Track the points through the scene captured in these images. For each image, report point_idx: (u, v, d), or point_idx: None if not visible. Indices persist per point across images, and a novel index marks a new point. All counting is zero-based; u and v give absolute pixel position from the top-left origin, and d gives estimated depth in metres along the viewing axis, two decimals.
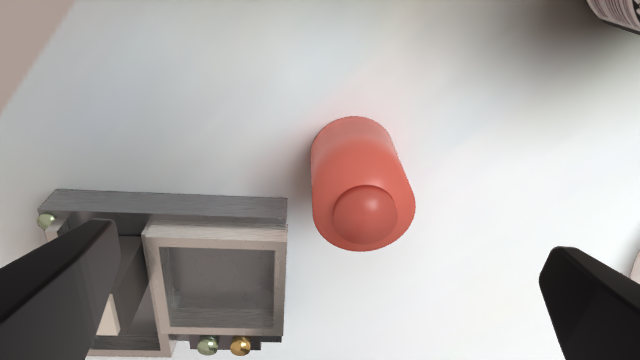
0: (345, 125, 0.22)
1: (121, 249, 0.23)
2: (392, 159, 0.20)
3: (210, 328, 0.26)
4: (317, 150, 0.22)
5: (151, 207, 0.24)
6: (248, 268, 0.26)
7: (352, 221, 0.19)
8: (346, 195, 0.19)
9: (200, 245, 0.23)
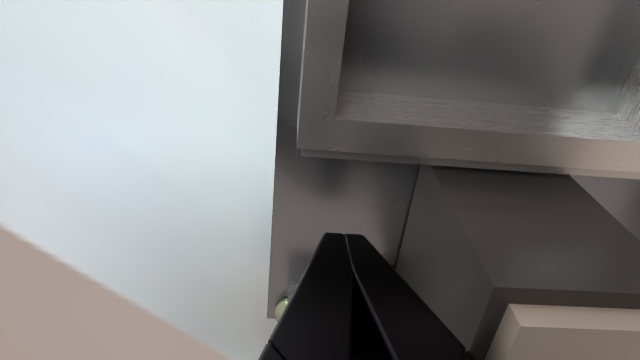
0: None
1: (428, 215, 0.09)
2: None
3: None
4: None
5: None
6: None
7: None
8: None
9: None
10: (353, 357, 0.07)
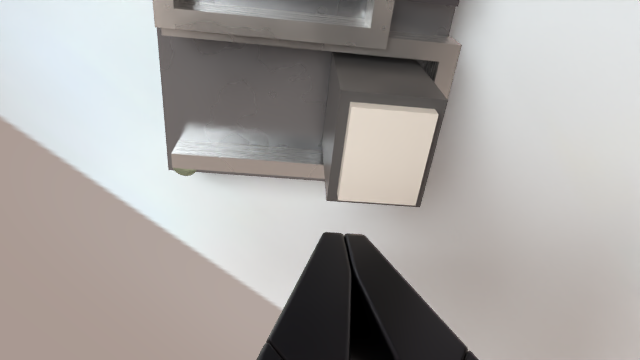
0: None
1: (331, 85, 0.15)
2: None
3: None
4: None
5: None
6: None
7: None
8: None
9: None
10: (354, 357, 0.07)
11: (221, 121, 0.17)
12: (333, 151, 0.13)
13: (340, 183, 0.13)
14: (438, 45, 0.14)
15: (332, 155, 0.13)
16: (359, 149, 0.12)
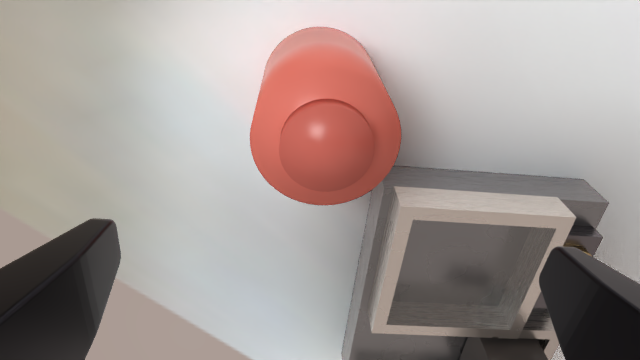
0: None
1: (476, 352, 0.22)
2: (267, 82, 0.14)
3: (527, 294, 0.20)
4: None
5: (357, 303, 0.23)
6: (456, 232, 0.20)
7: (329, 169, 0.13)
8: (289, 172, 0.13)
9: (391, 290, 0.19)
10: None
11: (388, 357, 0.24)
12: None
13: None
14: (550, 332, 0.22)
15: None
16: None
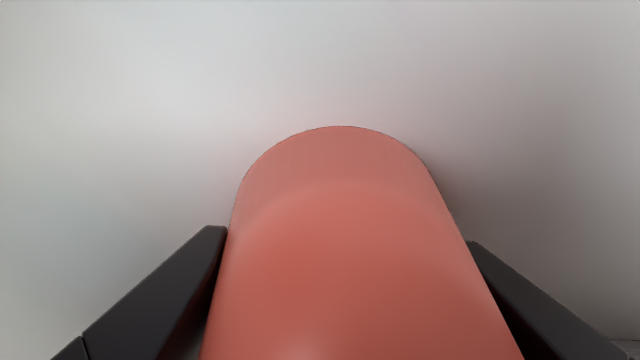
0: None
1: None
2: (221, 315, 0.06)
3: None
4: None
5: None
6: None
7: None
8: None
9: None
10: None
11: None
12: None
13: None
14: None
15: None
16: None
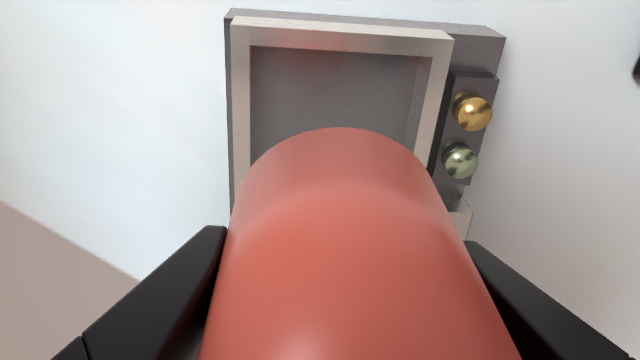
0: None
1: None
2: (220, 317, 0.06)
3: None
4: None
5: None
6: (325, 83, 0.16)
7: None
8: None
9: (245, 152, 0.16)
10: None
11: None
12: None
13: None
14: (455, 213, 0.18)
15: None
16: None
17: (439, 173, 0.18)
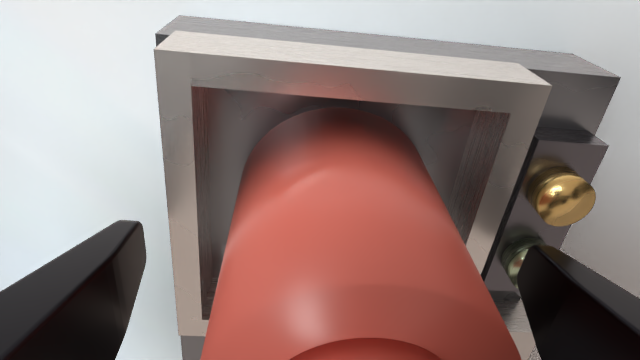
0: None
1: None
2: (235, 261, 0.07)
3: None
4: None
5: None
6: None
7: None
8: None
9: (191, 252, 0.10)
10: None
11: None
12: None
13: None
14: (514, 334, 0.12)
15: None
16: None
17: (495, 276, 0.12)
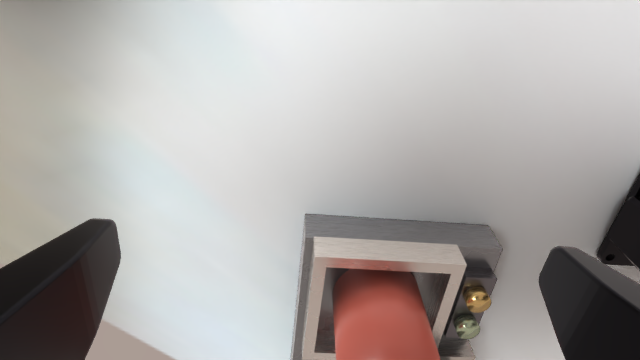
0: None
1: None
2: (349, 335, 0.19)
3: (434, 327, 0.23)
4: None
5: (294, 331, 0.26)
6: None
7: None
8: None
9: (314, 324, 0.22)
10: None
11: None
12: None
13: None
14: (461, 358, 0.25)
15: None
16: None
17: (451, 331, 0.24)
